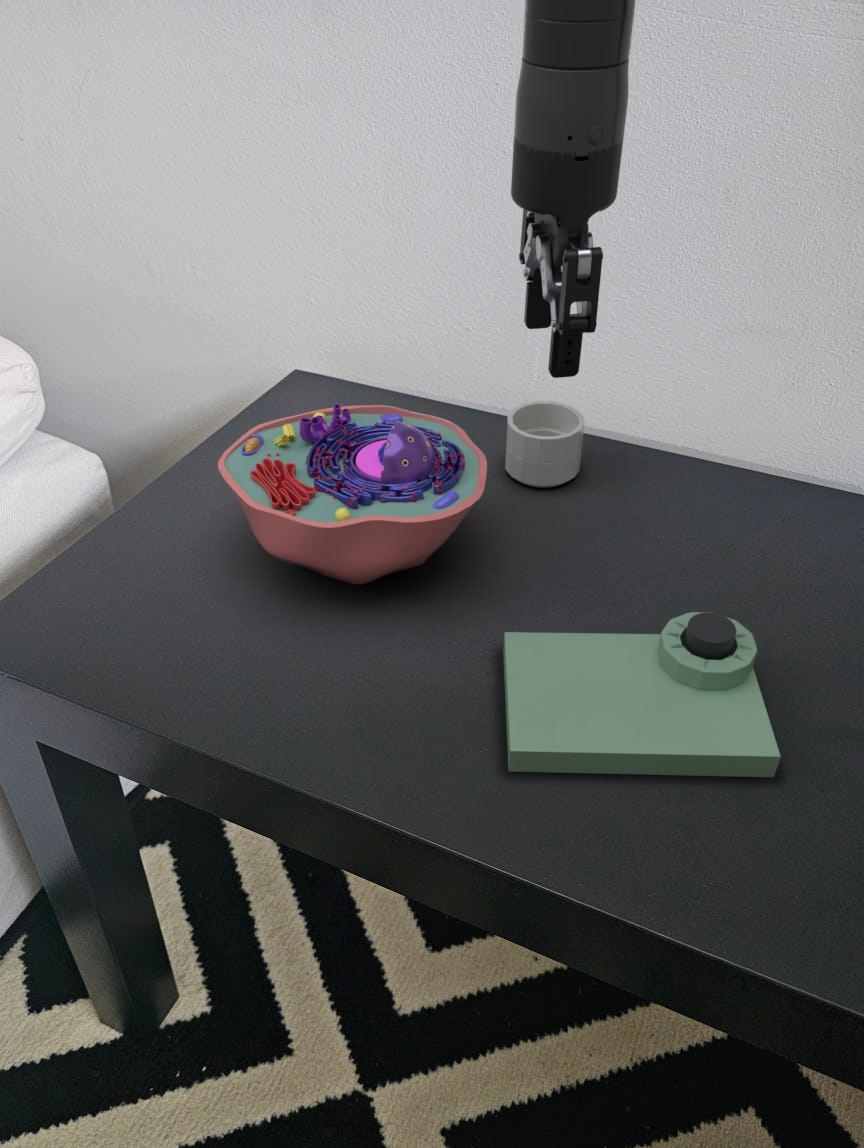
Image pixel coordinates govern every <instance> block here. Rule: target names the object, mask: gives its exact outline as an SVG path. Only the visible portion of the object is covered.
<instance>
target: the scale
mask: <svg viewBox="0 0 864 1148" xmlns="http://www.w3.org/2000/svg"><path fill="white" fill-rule="evenodd" d="M700 613H710V612H698V611H697V612H694V611H690V612H687V613H684V614H681V615H679V616H676V617H673V618H671V619H669V620H668V622H667V623H666V625H665V626H664V627H663V629H662V630H661V632H660V633H600V632H599V633H598V632H596V633H595V632H594V633H593V632H592V633H591V632H529V631H528V632H527V631H526V632H524V631H522V632H520V631H512V632H511V631H505V632H504V634H503V651H502V654H503V655H502V656H503V675H504V676H503V679H504V698H505V699H504V700H505V723H506V724H505V725H506V743H507V765H508V767H507V768H508V772H509V773H511V772H512V773H514V772H515V773H550V774H553V773H554V774H557V773H558V774H600V775H602V774H603V775H642V776H643V775H644V776H645V775H648V776H685V777H687V776H688V777H689V776H690V777H691V776H694V777H730V778H731V777H733V778H734V777H738V778H775V776H776V773H777V770H778V766H779V763H780V761H781V758H782V757H781V756H782V755H781V753H780V750H779V746H778V743H777V739H776V737H775V734H774V733H775V732H774V730H773V726H772V724H771V720H770V718H769V714H768V711H767V708H766V707H767V706H766V705H765V701H764V699H763V694H762V691H761V688H760V685H759V682H758V679H757V675H756V672H755V669H754V665H755V662H756V658H757V655H758V647H757V644H756V641H755V638H754V635H753V632H751V631H749V630H748V629H747V628H746V627H745V626H744V625H742V624H741V623H740V622H739V621H738V620H736V619H734V618H731V617H727V616H725V617H726V618H728V619H729V620H731V621H732V622H733V624H734V625H735V627H736V635H735V639H734V643H733V647H732V651H731V653H730V654H729V655H728V656H727V657H726V658H724V659H721V660H706V659H703V658H700V657H697V656H695V655H692V654H691V653H690V652H689V651H688V650H687V649H686V647H685V644H684V640H685V635H686V630H687V626H688V622H689V620H690V619H691V618H692V617H693V616H694V615H697V614H700Z"/></svg>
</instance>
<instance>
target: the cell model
mask: <svg viewBox="0 0 864 1148" xmlns="http://www.w3.org/2000/svg"><path fill="white" fill-rule="evenodd" d="M217 469H218V471H219V473H220V475H221V476H222V478H223V480H224V481H225V482H226V483H227V485H228V487H229V488H230V490H231V491H232V493H233V494H234V497H235V498H236V500H237V503H238V504H239V506H240V508H241V510H242V511H243V514H244V516H245V518H246V521H247V523H248V525H249V528H250V530H251V533H252V535H253V536H254V538H255V540H256V542H257V543H258V544H259V545H260V547H261V548H262V549H263V550H264V551H265V552H266V553H267V554H269V555H271V556H272V557H273V558H276V559H278V560H279V561H281V562H284V563H287V564H290V565H294V566H297V567H301V568H305V569H308V570H311V571H313V572H315V573H317V574H319V575H323V576H325V577H328V578H332V579H335V580H338V581H341V582H345V583H347V584H351V585H357V586H361V585H366V584H369V583H372V582H374V581H376V580H377V579H380V578H382V577H384V576H386V575H389V574H394V573H397V572H401V571H405V570H409V569H412V568H416V567H418V566H421V565H423V564H424V563H426V562H427V561H428V560H429V559H430V558H431V556H432V555H433V554H434V552H436V551H437V550H438V549H439V548H441V546H443V545H444V544H445V543H446V542H447V540H448V539H449V538H450V537H451V536H452V535H453V534H454V533H455V531H456V529H457V528H458V527H459V526H460V524H461V523H462V521H463V520H464V519H465V517H466V516H467V514H468V513H469V512H470V510H472V508H473V507H474V506H475V504H476V503H477V502H478V501H479V499H480V498H481V497H482V495H483V493H484V491H485V488H486V481H487V474H488V473H487V472H488V461H487V458H486V455H485V454H484V452H483V451H482V450H481V449H480V448H479V447H478V446H477V445H476V444H475V443H474V442H473V441H472V439H471V438H470V436H469V435H467V433H466V431H465V430H464V429H463V428H461V426H459V425H458V424H455V423H454V422H452V421H450V420H447V419H445V418H442V417H438V416H435V415H430V414H425V413H421V412H417V411H416V412H415V411H411V410H408V409H404V408H401V407H398V406H397V407H396V406H392V405H384V404H371V405H369V404H368V405H364V404H363V405H359V404H358V405H346V406H345V405H344V406H342V405H341V404H339V403H335V404H333V406H332V407H327V408H322V409H321V408H320V409H315V410H312V411H307V412H302V413H299V414H295V415H290V416H286V417H281V418H277V419H272V420H270V421H267V422H263V423H261V424H260V423H259V424H257V425H256V426H254V427H252V428H250V429H249V430H248V431H247V432H245V433H244V434H243V435H242V436H240V437H239V438H238V439H237V440H236V441H235V442H234V443H232V444H231V445H230V446H229V447H228V448H227V449H226V450H225V451H223V453H222V455H221V456H220V458H219V460H218V462H217Z"/></svg>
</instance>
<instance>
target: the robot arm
mask: <svg viewBox="0 0 864 1148" xmlns="http://www.w3.org/2000/svg"><path fill="white" fill-rule="evenodd" d="M635 11H636V0H524V15H523V16H524V17H523V35H522V51H521V55H522V57H521V63H520V69H519V70H520V71H519V76H518V82H517V86H516V87H517V88H516V96H515V107H514V108H515V109H514V127H513V130H514V131H513V146H512V163H511V164H512V165H511V166H512V167H511V185H510V196H511V199H512V201H513V202H514V203H515V204H516V206H518V207H519V208H521V209H522V223H521V233H520V234H521V236H520V249H519V254H518V259H519V261H520V262H519V263H520V264H521V265H524V269H523V271H522V272H523V273H522V275H523V278H524V281H525V282H526V286H525V287H526V288H525V289H526V290H525V301H524V302H525V303H524V317H523V322H524V325H525V327H526V328H527V329H529V330H538V329H548V328H550V327H551V332H550V344H549V356H548V366H547V369H548V372H549V374H550V376H551V377H552V378H554V379H559V378H571V377H576V376H577V375H578V374H579V371H580V365H581V364H580V363H581V355H582V346H583V335H584V334H590V333H591V334H592V333H595V332H596V329H597V323H598V321H597V319H598V311H599V310H598V309H599V308H598V307H599V297H600V288H601V287H600V286H601V278H602V276H601V275H602V266H603V260H604V253H603V248H602V247H601V246H594V240H593V233H592V231H589V220H590V219H591V218H592V217H593V216H594V215H595V214H597V213H599V212H603V211H605V210H607V209H608V208H610V207H611V206H612V205H613V204H614V202H615V201H616V199H617V196H618V189H619V180H620V171H621V165H622V164H621V163H622V156H623V155H622V154H623V146H624V138H625V130H626V121H627V112H628V105H629V90H630V89H629V85H630V84H629V67H630V65H629V64H630V55H631V46H632V38H633V37H632V36H633V28H634V19H635ZM557 284H561V285H557ZM574 303H575V305H576V313H571V309H572V304H574Z"/></svg>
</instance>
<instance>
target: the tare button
mask: <svg viewBox="0 0 864 1148" xmlns="http://www.w3.org/2000/svg"><path fill="white" fill-rule="evenodd" d="M726 617H727V616H725V615H723V614H719V613H715V612H709V613H700V614H697V615H694V616H693V617H692V618H691V619H690V620H689V622H688V626H687V630H686V635H685V640H684V644H685V647H686V649H687V650H688V651H689V652H690V653H691V654H692V655H695V656H697V657H700V658H703V659H706V660H721V659H724V658H726V657H727V656H728V655H729V654H730V653H731V651H732V647H733V643H734V639H735V635H736V627H735V625H734V624H733V622H732V621H731V620H729V619H728V618H729V617H727V618H726Z"/></svg>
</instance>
